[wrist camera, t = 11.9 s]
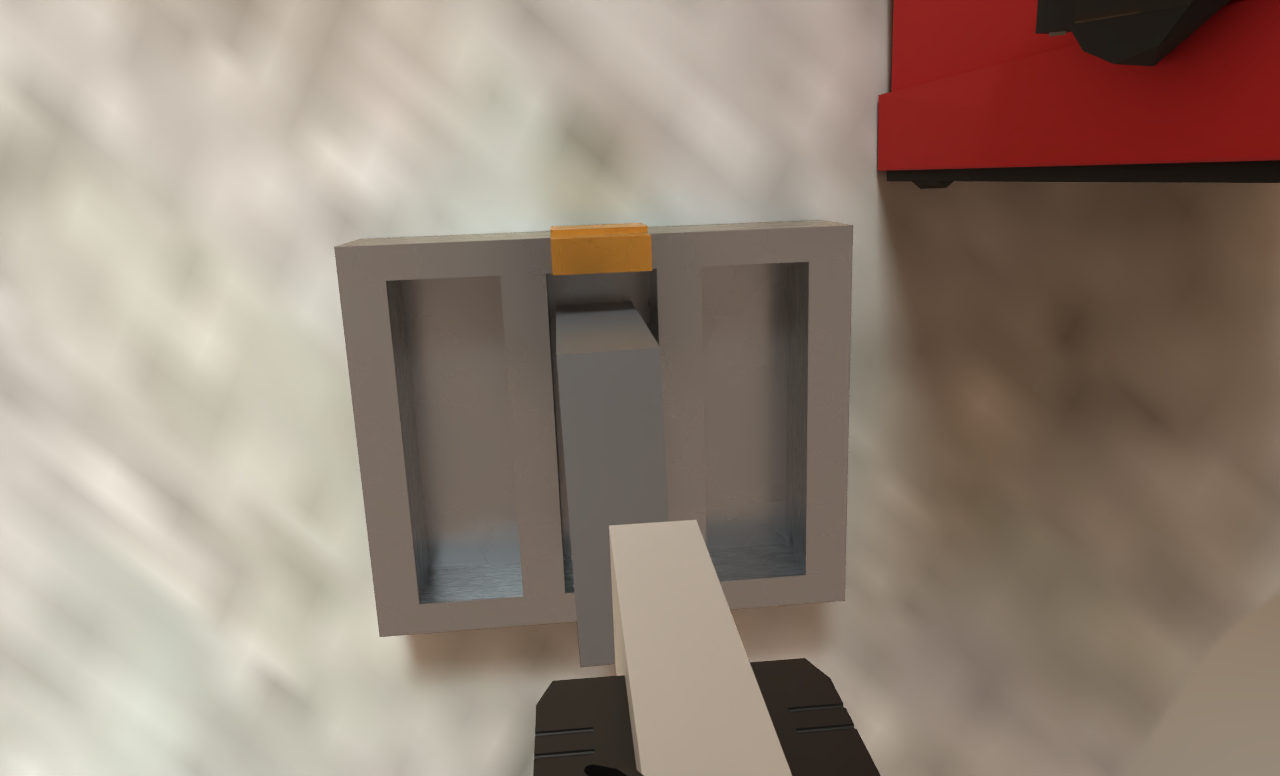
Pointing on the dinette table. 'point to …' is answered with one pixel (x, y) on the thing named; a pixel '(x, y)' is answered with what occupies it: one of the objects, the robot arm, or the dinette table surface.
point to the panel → (607, 449)
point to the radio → (1082, 91)
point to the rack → (531, 417)
